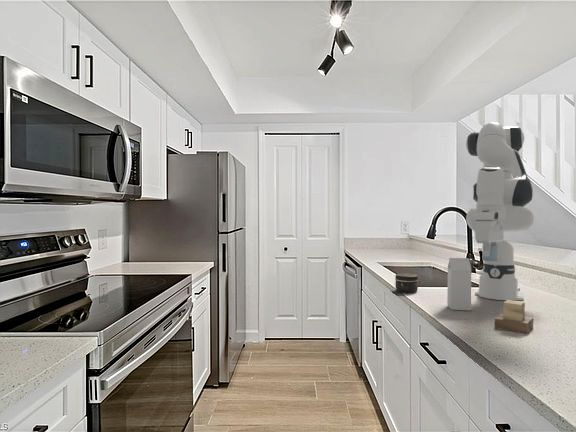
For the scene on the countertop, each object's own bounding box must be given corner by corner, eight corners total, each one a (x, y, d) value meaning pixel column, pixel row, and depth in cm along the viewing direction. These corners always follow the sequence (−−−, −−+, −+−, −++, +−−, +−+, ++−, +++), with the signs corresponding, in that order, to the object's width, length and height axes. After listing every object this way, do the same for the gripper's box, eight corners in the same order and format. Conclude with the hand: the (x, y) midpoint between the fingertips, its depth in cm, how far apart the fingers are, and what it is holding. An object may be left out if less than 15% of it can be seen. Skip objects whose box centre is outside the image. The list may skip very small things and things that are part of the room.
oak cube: (507, 315, 136) (507, 299, 136) (524, 317, 133) (524, 302, 133) (503, 318, 132) (503, 302, 132) (521, 321, 129) (521, 304, 129)
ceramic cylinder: (484, 259, 146) (484, 245, 146) (499, 260, 143) (499, 245, 143) (480, 260, 143) (480, 245, 143) (495, 261, 140) (496, 246, 140)
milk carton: (471, 311, 155) (471, 259, 154) (450, 310, 156) (450, 258, 156) (466, 306, 161) (467, 257, 161) (447, 305, 163) (447, 256, 163)
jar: (391, 292, 191) (392, 275, 191) (399, 288, 199) (399, 272, 199) (413, 294, 185) (413, 277, 185) (420, 291, 194) (421, 274, 194)
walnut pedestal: (501, 322, 139) (502, 313, 139) (533, 327, 133) (533, 317, 133) (494, 328, 132) (494, 318, 132) (527, 333, 126) (527, 323, 126)
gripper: (489, 214, 153) (489, 253, 153) (471, 214, 137) (471, 257, 137) (508, 214, 149) (508, 254, 149) (492, 214, 133) (491, 258, 133)
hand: (490, 255), depth 143 cm, fingers closed on ceramic cylinder, 5 cm apart
